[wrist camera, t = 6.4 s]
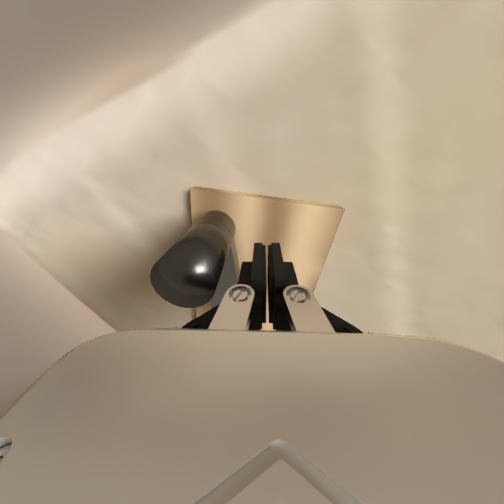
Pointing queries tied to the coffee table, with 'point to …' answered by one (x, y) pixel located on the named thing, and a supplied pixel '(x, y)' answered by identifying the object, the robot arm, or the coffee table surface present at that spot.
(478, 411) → the robot arm
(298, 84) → the coffee table surface
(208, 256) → the lever
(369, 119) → the coffee table surface
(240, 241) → the tan wooden panel
